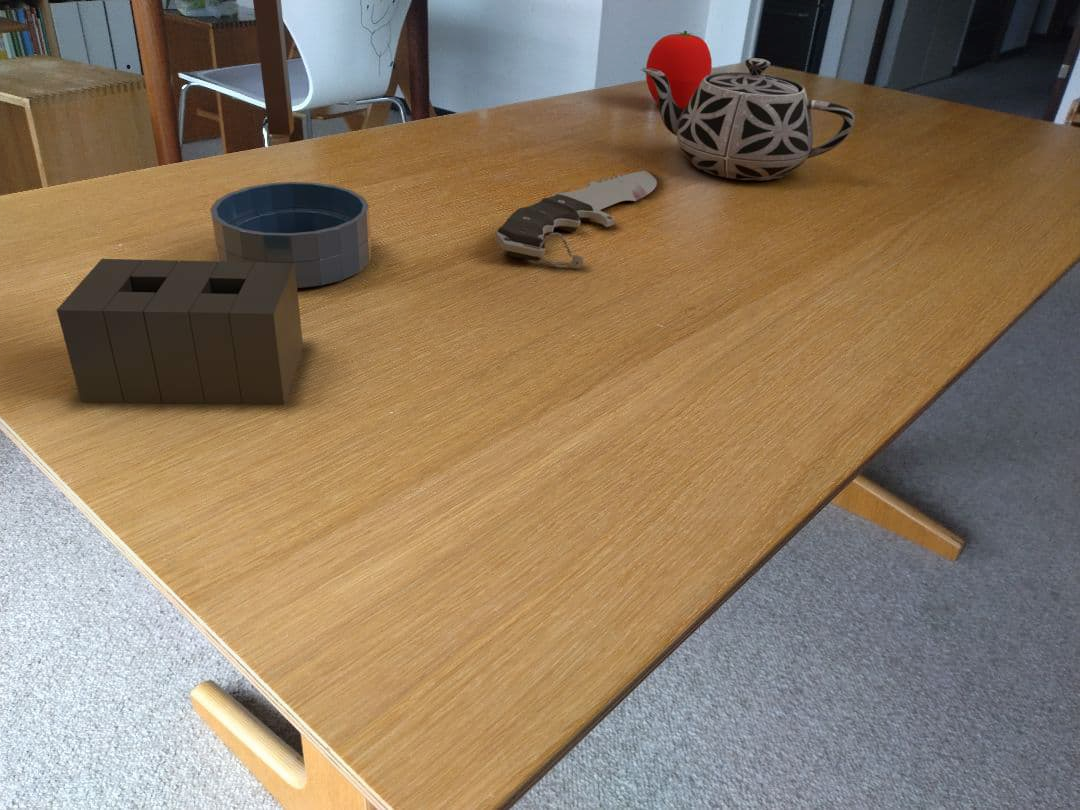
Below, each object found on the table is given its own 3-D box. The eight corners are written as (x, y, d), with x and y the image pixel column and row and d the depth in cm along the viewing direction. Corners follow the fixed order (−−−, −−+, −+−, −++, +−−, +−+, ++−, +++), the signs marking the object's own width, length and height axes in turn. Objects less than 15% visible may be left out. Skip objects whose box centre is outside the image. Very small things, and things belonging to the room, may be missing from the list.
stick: (268, 134, 82) (242, -86, 72) (272, 128, 83) (248, -88, 74) (290, 135, 82) (267, -85, 72) (294, 129, 84) (272, -87, 74)
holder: (81, 403, 67) (55, 309, 63) (121, 345, 75) (101, 258, 70) (284, 406, 68) (273, 313, 64) (303, 348, 76) (294, 262, 72)
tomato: (670, 119, 149) (680, 39, 142) (630, 104, 156) (638, 27, 149) (718, 113, 154) (731, 35, 147) (678, 98, 162) (688, 24, 155)
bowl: (202, 292, 84) (192, 232, 81) (238, 232, 97) (230, 179, 94) (363, 295, 85) (359, 237, 82) (377, 236, 98) (374, 184, 95)
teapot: (649, 135, 140) (661, 34, 132) (846, 167, 131) (872, 61, 123) (611, 166, 125) (622, 55, 117) (831, 205, 116) (859, 87, 108)
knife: (590, 168, 123) (592, 138, 121) (662, 180, 120) (666, 150, 118) (483, 260, 94) (483, 223, 92) (574, 279, 91) (577, 241, 89)
